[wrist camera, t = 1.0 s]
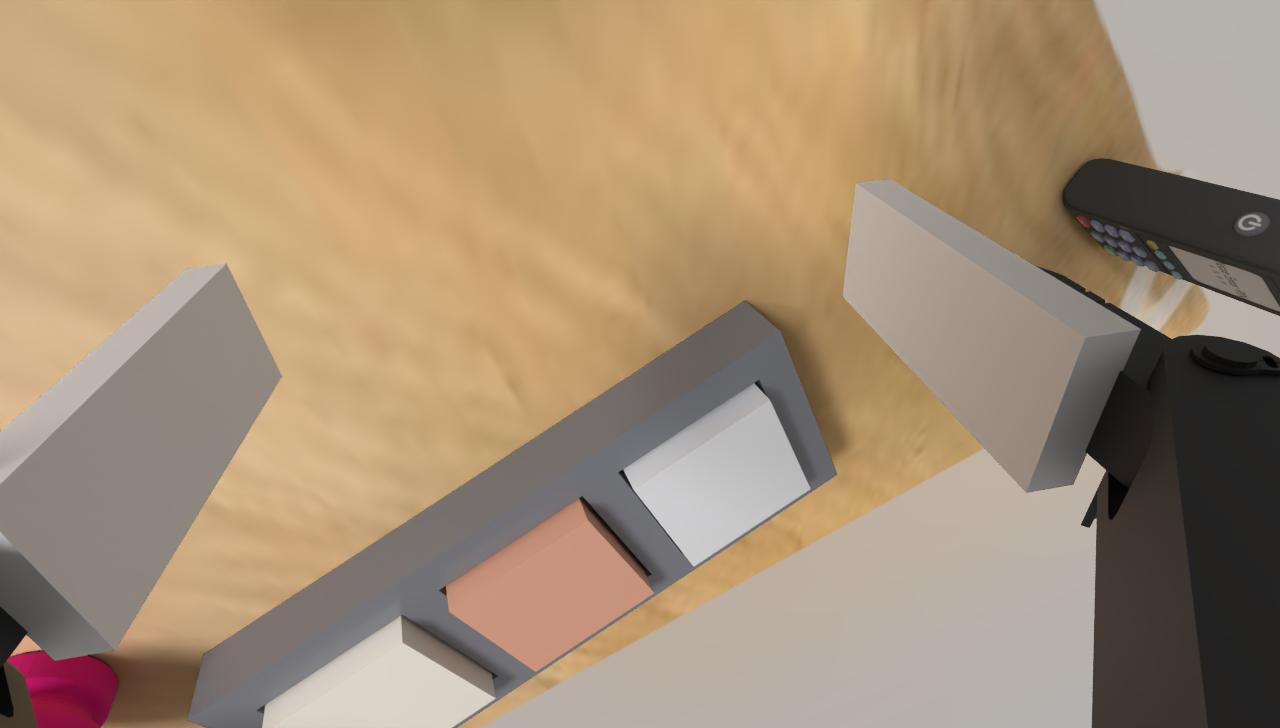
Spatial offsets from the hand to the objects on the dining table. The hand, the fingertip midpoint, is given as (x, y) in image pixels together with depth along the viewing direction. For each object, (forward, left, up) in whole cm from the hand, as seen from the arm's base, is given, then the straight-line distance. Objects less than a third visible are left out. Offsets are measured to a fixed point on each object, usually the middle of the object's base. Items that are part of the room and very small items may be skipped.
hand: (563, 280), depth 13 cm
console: (+23, -11, -17) cm, 31 cm away
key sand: (+23, -23, -14) cm, 35 cm away
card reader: (+26, +34, -17) cm, 46 cm away
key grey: (+23, +1, -14) cm, 27 cm away
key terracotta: (+23, -11, -14) cm, 29 cm away
